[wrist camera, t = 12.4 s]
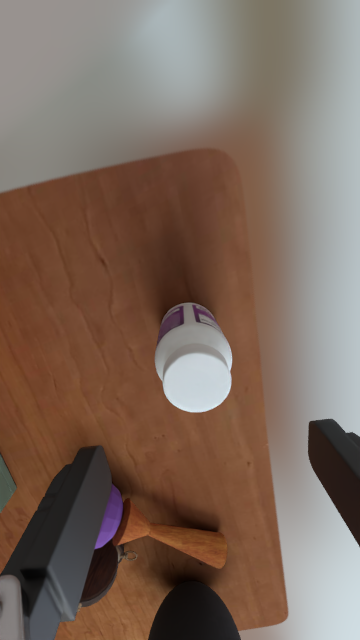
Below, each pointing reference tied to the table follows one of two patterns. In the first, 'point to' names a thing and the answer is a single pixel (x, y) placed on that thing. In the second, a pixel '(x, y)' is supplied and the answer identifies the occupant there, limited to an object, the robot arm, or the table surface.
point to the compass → (102, 572)
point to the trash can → (5, 484)
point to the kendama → (158, 532)
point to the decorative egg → (193, 615)
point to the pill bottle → (193, 358)
